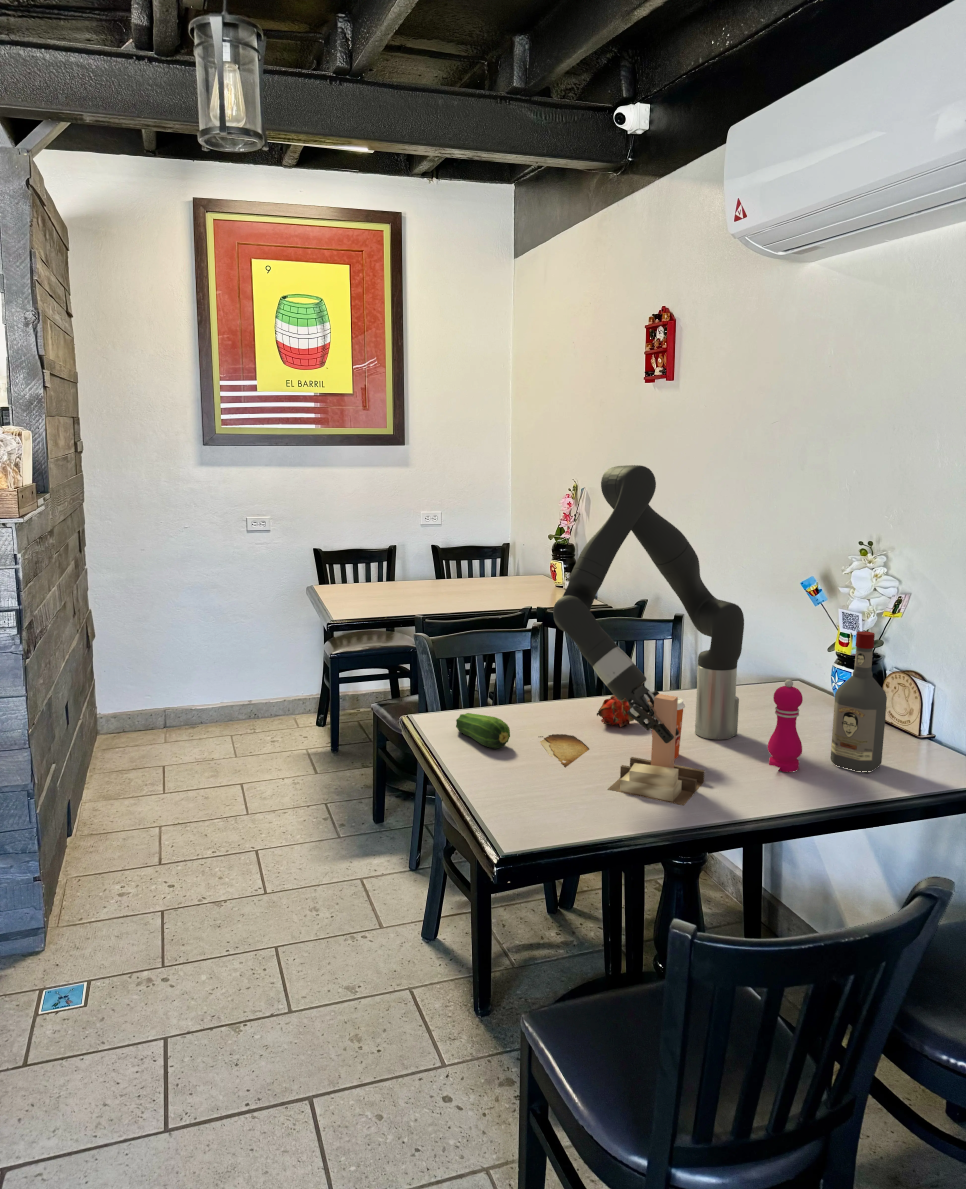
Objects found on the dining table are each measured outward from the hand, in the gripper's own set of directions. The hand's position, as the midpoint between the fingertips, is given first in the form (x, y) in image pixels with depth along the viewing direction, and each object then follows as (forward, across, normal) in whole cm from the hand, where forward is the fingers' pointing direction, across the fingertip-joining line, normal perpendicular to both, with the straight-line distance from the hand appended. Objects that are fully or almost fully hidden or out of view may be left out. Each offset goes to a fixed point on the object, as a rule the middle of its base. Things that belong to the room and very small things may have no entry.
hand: (673, 738), depth 183 cm
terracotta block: (+5, 0, +8) cm, 10 cm away
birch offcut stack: (+5, -7, +8) cm, 12 cm away
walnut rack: (+6, -4, +9) cm, 11 cm away
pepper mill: (+20, +23, -5) cm, 31 cm away
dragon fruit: (-10, +32, +25) cm, 42 cm away
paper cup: (+3, +15, +12) cm, 19 cm away
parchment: (-11, +8, +27) cm, 30 cm away
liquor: (+30, +32, -15) cm, 46 cm away
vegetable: (-27, +5, +42) cm, 51 cm away
